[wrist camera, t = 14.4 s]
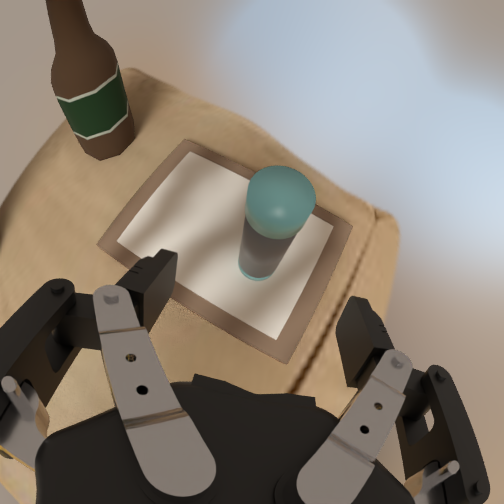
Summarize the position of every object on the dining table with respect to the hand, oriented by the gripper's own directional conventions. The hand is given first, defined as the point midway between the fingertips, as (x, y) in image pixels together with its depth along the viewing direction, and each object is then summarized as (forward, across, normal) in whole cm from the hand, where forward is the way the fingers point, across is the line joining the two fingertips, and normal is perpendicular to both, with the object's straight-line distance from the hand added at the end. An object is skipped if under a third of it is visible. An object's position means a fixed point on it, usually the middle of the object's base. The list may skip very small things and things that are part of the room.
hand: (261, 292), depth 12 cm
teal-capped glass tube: (+13, 0, +5) cm, 14 cm away
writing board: (+15, +3, +4) cm, 16 cm away
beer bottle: (+23, +22, -2) cm, 32 cm away
